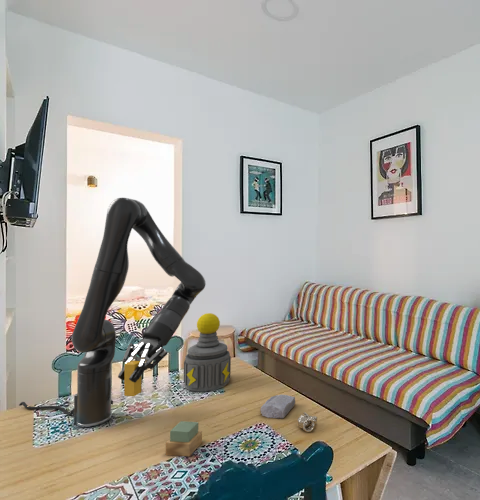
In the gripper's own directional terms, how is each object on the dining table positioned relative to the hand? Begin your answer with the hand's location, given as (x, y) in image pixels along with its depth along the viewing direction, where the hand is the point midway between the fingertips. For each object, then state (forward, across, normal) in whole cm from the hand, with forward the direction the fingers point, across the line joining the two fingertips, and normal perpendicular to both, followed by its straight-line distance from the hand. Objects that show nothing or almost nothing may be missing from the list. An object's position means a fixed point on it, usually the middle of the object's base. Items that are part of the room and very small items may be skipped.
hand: (126, 379), depth 97 cm
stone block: (-12, +25, +43) cm, 51 cm away
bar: (+2, 0, +5) cm, 5 cm away
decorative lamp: (-19, -15, +50) cm, 55 cm away
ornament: (-8, +40, +38) cm, 56 cm away
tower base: (+9, +12, +21) cm, 26 cm away
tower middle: (+7, +12, +18) cm, 23 cm away
